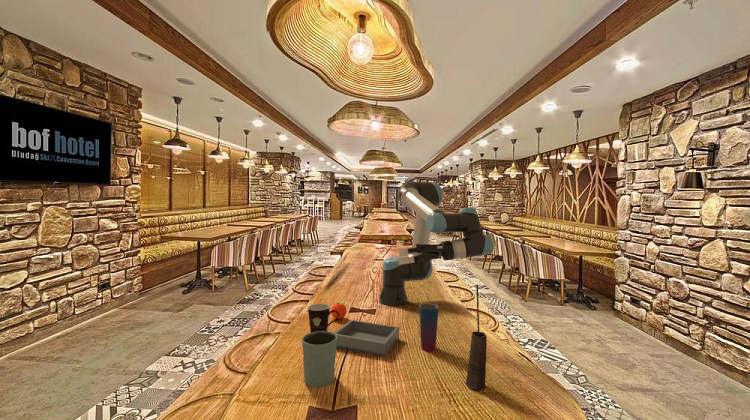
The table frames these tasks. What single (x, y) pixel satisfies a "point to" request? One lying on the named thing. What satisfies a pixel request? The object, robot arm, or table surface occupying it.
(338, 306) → the clementine
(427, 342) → the cup
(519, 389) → the table surface
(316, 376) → the grey ceramic tumbler
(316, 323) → the coffee mug
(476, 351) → the butter churn
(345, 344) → the tray
